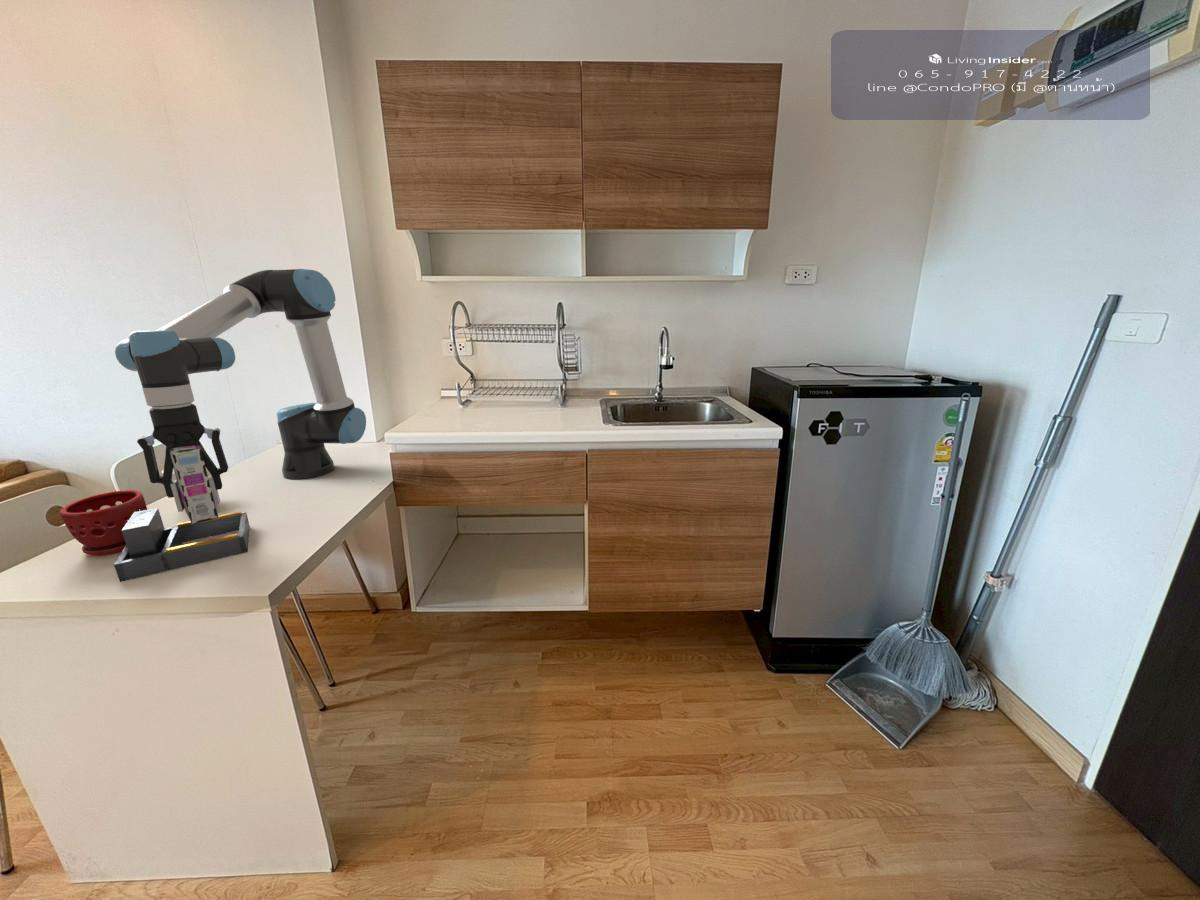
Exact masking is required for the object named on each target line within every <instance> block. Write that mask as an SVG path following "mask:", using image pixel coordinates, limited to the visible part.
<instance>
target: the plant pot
mask: <svg viewBox="0 0 1200 900" xmlns="http://www.w3.org/2000/svg"><path fill="white" fill-rule="evenodd" d="M117 502H118V504H117ZM119 502H121V503H119ZM104 506H106V508H102V507H104ZM107 506H108V507H107ZM89 510H90V511H89ZM143 510H148V506H147V503H146V500H145V498H144V495H143V494H142V492H141V491H139V490H134V489H131V490H128V489H127V490H115V491H109V492H104V493H103V492H102V493H99V494H96V495H91V496H88V497H85V498H82V499H78V500H76V501H73V502H71V503H69V504H67V505H65V506H63V507H62V508H61V509H60V511H59V514H60V517H61V520H62V521H63V523H64V525H65V527H66V528H67V529H68V531H69V533H70V534H71V536H72V537H73V539H75V540H76V541H77V542H79V543H80V544H81V545H82V548H81V551H82V553H83V554H85V555H88V556H92V557H93V556H94V557H104V556H112V555H117V554H121V552H122V551H123V549H124V547H125V546H126V542H125V539H124V536H123V533H122V529H123V527H124V526H125V525H126V523H127V522H128V520H129V519H130V517H131V516H132V514H133V513H134V512H138V511H143Z"/></svg>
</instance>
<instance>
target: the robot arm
mask: <svg viewBox="0 0 1200 900" xmlns="http://www.w3.org/2000/svg"><path fill="white" fill-rule="evenodd" d="M335 306H336V293H335V290H334V288H333V285H332V284H331V282H330V281H329V280H328V278H327V277H326V276H324V274H322V273H321V272H319V271H318V270H314V269H307V268H306V269H304V268H298V269H297V268H293V269H292V268H291V269H265V270H260V271H259V270H258V271H257V272H253V273H251V274H249V275H246V276H244V277H242V278H240V279H239V280H236V281H234V282H233V283H231V284H229V285H227V286H225V288H224V289H223V292H222V294H220V295H218V296H216V297H214V298H213V299H211V300H209V301H207V302H205V303H203V304H202V305H200V306H198V307H196V308H195V309H193V310H191V311H189V312H188V313H186V314H184V315H182V316H180V317H178V318H177V319H175V320H173V321H171V322H169V323H168V324H166V325H164V326H162V327H160V328H158V329H157V330H137V331H136V330H135V331H132V332H130V334H129V333H128V334H129V335H128V338H125V339H123V340H121V341H119V342H118V343H117V344H116V347H115V350H114V353H115V358H116V360H117V362H118V363H119V364H120V365H121V366H122V367H124V369H126V370H129V371H132V372H137V374H138V377H139V381H140V384H141V386H142V391H143V392H142V393H143V395H144V399H145V402H146V405H147V406H149V407H151V408H149V410H148V412H149V416H150V419H151V422H152V427H153V431H152V433H151V434H149V435H146V436H144V435H143V436H140V437H139V438H138V439H137V441H136V443H137V444H138V445H139V446H140V448H141V449H142V451H143V455H144V460H145V464H146V468H147V472H148V479H149V481H150V483H151V484H161V485H163V487H164V490H165V494H166V497H167V498H168V499H169V498H170V499H172V498H174V502H175V506H176V509H177V512H178V513H180V512H184V509H185V507H184V504H183V500H182V497H181V493H180V490H179V486H178V483H177V480H175V481H172V473H173V462H172V459H171V455H170V449H173V448H176V447H183V446H199V447H200V448H201V452H202V456H203V459H204V463H205V467H206V468H207V472H208V473H209V474H210V475H208V479H209V482H210V486H211V490H212V494H213V498H214V502H215V506H219V505H220V504H221V497H220V494H219V490H222V488H223V482H222V479H221V475H222V474H224V473H227V472H228V470H229V464H228V462H227V458H226V455H225V452H224V450H223V446H222V445H223V444H222V443H221V439H220V435H221V429H220V428H216V427H215V428H209V427H208V428H206V427H205V426H204V425H203V424H202V423H201V420H200V417H199V413H198V408H197V406H196V405H195V404H194V402H195V397H194V394H193V389H192V385H191V381H190V377H189V375H192V374H198V373H199V374H200V373H208V372H220V371H222V370H227V369H230V368H232V367H233V365H234V364H235V361H236V354H235V353H236V352H235V350H234V348H233V346H232V344H231V343H229V342H228V341H227V340H225V339H224V338H221V337H218V336H220V335H222V334H224V332H227V331H228V330H230V329H231V328H233V327H235V326H236V325H237V324H239V323H240V322H242V321H244V320H245V319H254V318H256V317H258V316H260V315H263V314H265V313H274V312H275V313H284V315H285V318H286V321H288V322H289V323H291V324H292V325H293V326H294V327H295V331H296V332H295V333H296V334H297V338H298V339H297V340H298V342H299V345H300V349H301V351H302V356H303V359H304V362H305V364H306V365H305V366H306V368H307V369H306V370H307V372H308V375H309V379H310V382H311V385H312V389H313V390H312V391H313V393H314V396H315V399H316V402H309V403H308V402H307V403H301V404H296V405H291V406H286V407H283V408H280V409H279V410H278V411H277V412H276V417H277V425H278V429H279V434H280V439H281V442H282V446H283V451H284V457H283V462H282V467H281V468H282V469H281V473H282V477H283V478H285V479H287V480H289V479H290V480H302V479H311V478H315V477H319V476H324V475H326V474H328V473H331V472H333V471H334V469H335V464H334V460H333V459H332V457H331V455H330V454H329V452H328V450H327V449H326V446H325V444H342V445H346V444H354V443H357V442H358V441H359V440H361V439H362V437H363V436H364V434H365V430H366V428H367V417H366V414H365V412H364V411H363V410H362V408H359V407H356V406H355V402H354V400H353V399H352V398H350V397H348V395H347V392H346V389H345V385H344V381H343V377H342V373H341V370H340V366H339V363H338V359H337V354H336V351H335V347H334V342H333V340H332V335H331V332H330V329H329V328H330V327H329V325H328V324H329V323H328V321H329V319H330V318H331V317H332V314H331V311H332V310H333V309H334V308H335ZM204 434H205V435H206V436H207V438H208V439H210V440H211V444H212V447H213V450H214V454H215V456H216V457H215V458H216V460H217V463H218V466H219V467H217V465H216V464H215V463H214V461H213V460H212V458H211V457H210V456H209V454H208V453H207V452H206V450H205V448H204V446H203V445H202V443H201V442H200V440H201V438H202V437H203V435H204ZM155 440H156V441H158V442H160V443H161V444H163V445H164V446H166V447H165V456H164V457H165V458H164V464H163V465H164V466H163V470H164V472H163V474H162V475H160V471H159V467H158V462H157V457H156V453H155V448H154V444H155Z"/></svg>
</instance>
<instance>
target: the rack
mask: <svg viewBox="0 0 1200 900" xmlns="http://www.w3.org/2000/svg"><path fill="white" fill-rule="evenodd" d="M250 527H251V525H250V522H249V517H248V514H247V512H242V511H241V510H239V511H234V512H229V513H225V514H220V515H219V514H218V518H215V519H212V520H208V521H203V522H199V523H195V524H192V523H191V521H190V520H188V521H184V522H178V523H177V524H176V525H175V526H171V527H170V526H169V527H166V528H165V526H164V523H163V519H162V516H161V512H160V509H159V507H155V508H150V509H147V510H143V511H138V512H134V513H133V514H132V516H131V517H130V519H129V520H128V522H127V523H126V525H125V526H124V527H123V529H122V533H123V536H124V539H125V542H126V546H125V547H124V549H123V551H122V552H121V553H119V555H118V557H117V559H116V560H115V562H114V563H113V567H114V569H115V572H116V573H115V574H116V575H117V578H118V580H119V583H122V581H123V582H127V581H131V580H134V579H140V578H144V577H147V576H151V575H156V574H157V575H158V574H160V573H164V572H165V573H166V572H169V571H173V570H177V569H180V568H181V569H182V568H186V567H189V566H194V565H199V564H204V563H206V562H207V563H208V562H212V561H215V560H220V559H223V558H224V559H225V558H228V557H233V556H237V555H241V554H245V553H246V554H247V553H248V551H249V541H250V531H251V529H250ZM233 532H238V533H234V534H229V533H233ZM225 534H227V535H225ZM220 535H225V536H220ZM215 536H219V537H215ZM210 537H211V539H206V538H210ZM212 537H214V538H212ZM201 539H206V540H201ZM196 540H201V541H196ZM193 541H196V542H193ZM186 542H192V543H187V544H184V543H186ZM130 579H131V580H130ZM126 580H127V581H126Z"/></svg>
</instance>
